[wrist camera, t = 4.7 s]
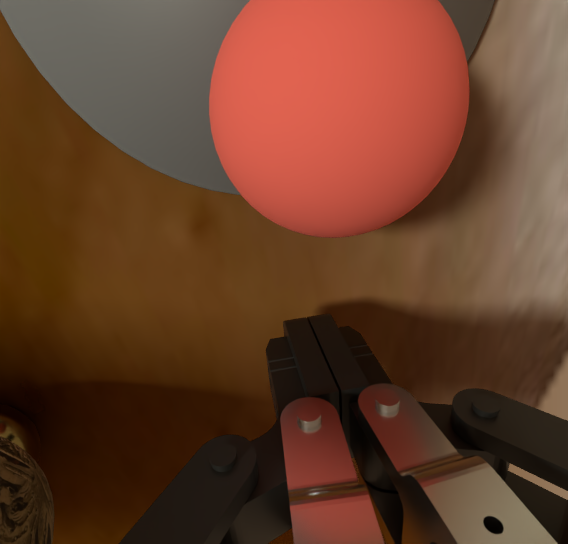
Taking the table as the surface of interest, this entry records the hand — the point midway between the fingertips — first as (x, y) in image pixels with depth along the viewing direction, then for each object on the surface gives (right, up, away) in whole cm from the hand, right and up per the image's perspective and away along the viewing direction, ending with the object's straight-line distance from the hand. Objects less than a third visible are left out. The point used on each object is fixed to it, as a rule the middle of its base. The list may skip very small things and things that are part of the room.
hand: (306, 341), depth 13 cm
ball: (0, +6, -4) cm, 7 cm away
